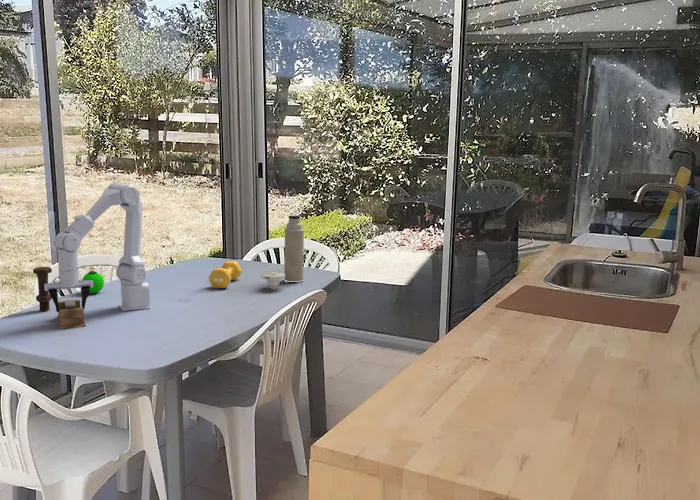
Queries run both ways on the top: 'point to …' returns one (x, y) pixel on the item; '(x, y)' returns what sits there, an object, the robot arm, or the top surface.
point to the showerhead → (273, 278)
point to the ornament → (95, 281)
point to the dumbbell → (225, 274)
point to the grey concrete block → (69, 304)
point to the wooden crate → (70, 316)
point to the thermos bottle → (294, 249)
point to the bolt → (43, 279)
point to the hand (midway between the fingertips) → (70, 310)
